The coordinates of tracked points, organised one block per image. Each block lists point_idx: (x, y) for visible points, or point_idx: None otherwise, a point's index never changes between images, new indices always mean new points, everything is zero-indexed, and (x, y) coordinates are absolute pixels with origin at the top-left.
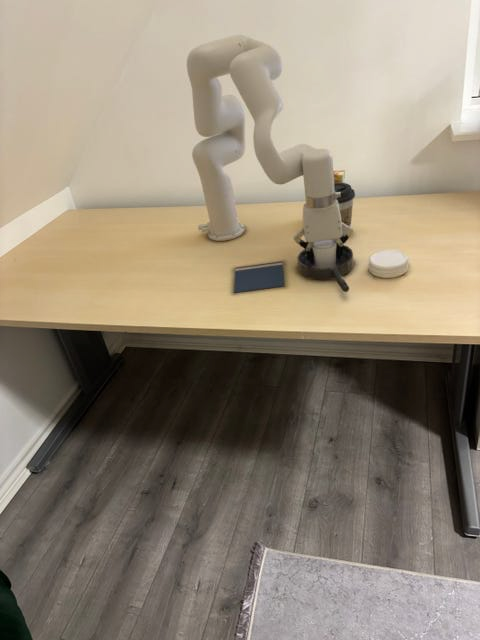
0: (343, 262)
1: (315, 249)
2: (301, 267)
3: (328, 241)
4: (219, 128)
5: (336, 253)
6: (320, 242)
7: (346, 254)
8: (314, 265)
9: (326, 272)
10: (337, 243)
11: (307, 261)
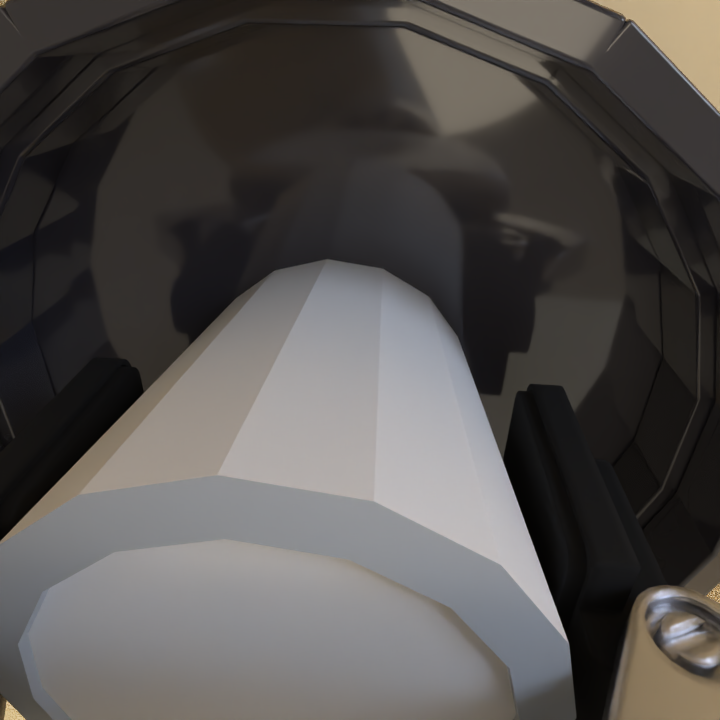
0: (572, 379)
1: None
2: None
3: (391, 665)
4: None
5: (568, 115)
6: (187, 644)
7: (687, 319)
8: (198, 334)
9: None
10: (577, 707)
11: (89, 200)
